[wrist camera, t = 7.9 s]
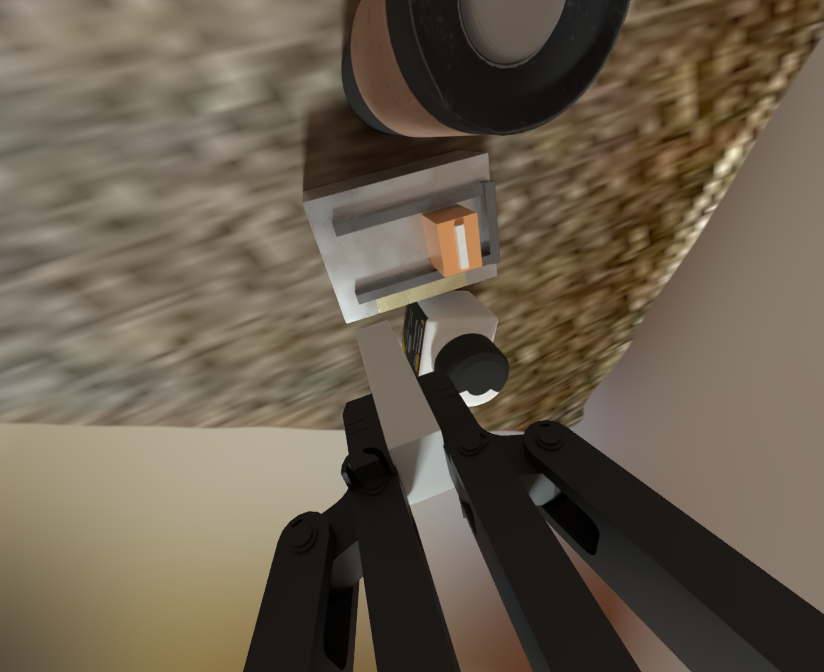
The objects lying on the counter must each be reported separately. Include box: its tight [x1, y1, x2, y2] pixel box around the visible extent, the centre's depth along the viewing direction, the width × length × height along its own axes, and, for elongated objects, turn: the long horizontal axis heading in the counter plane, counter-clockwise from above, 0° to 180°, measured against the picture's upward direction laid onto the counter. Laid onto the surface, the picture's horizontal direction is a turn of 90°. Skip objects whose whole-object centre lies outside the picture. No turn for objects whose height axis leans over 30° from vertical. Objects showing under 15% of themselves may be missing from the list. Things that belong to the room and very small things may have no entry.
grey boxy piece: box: [302, 150, 500, 324], centre depth 29 cm, size 10×14×7 cm
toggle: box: [422, 205, 482, 278], centre depth 26 cm, size 4×3×4 cm
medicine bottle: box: [402, 291, 509, 406], centre depth 33 cm, size 7×7×12 cm
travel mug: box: [342, 0, 630, 137], centre depth 18 cm, size 8×8×20 cm
